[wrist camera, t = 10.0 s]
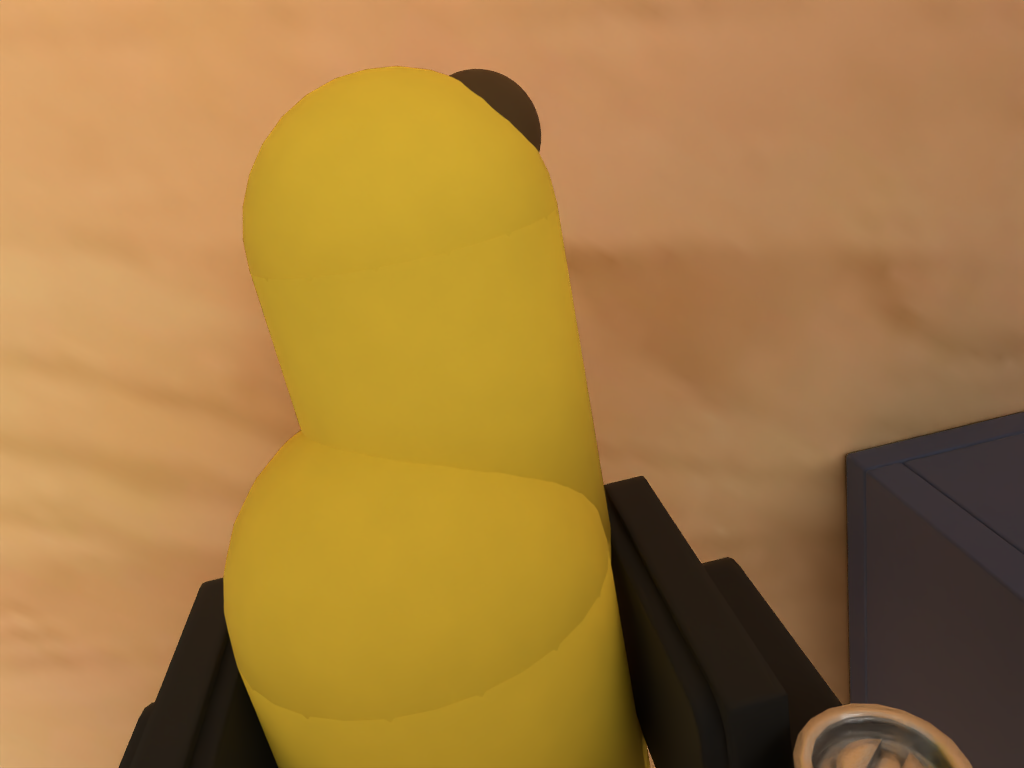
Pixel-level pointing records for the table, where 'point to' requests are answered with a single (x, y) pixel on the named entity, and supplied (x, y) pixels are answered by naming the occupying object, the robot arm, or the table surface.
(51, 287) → the table surface
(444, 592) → the yellow lobed rod
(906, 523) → the blue shallow open box
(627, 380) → the table surface
